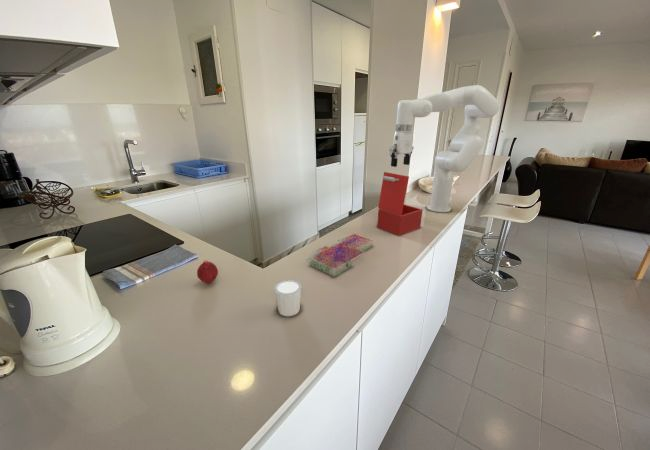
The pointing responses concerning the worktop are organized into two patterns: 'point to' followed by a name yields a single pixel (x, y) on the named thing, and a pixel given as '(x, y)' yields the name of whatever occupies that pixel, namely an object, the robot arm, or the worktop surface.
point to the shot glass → (288, 297)
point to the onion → (207, 271)
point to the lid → (393, 193)
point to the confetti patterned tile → (346, 250)
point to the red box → (400, 220)
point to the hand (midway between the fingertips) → (400, 165)
